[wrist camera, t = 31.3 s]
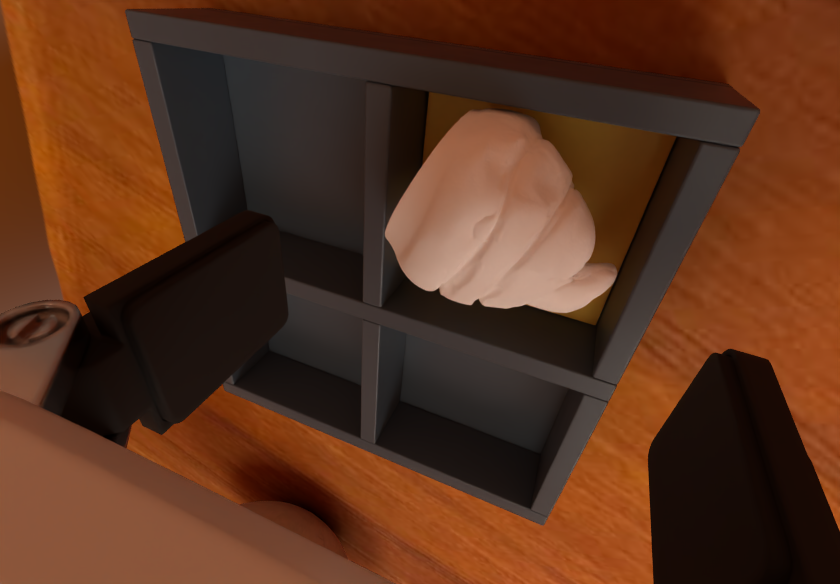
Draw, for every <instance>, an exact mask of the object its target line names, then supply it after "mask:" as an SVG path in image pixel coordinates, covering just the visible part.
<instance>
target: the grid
mask: <svg viewBox="0 0 840 584" xmlns="http://www.w3.org/2000/svg"><path fill="white" fill-rule="evenodd" d="M125 13H126V16H127V20H128V24H129V28H130V32H131V36H132V38H134V39H133V44H134V48H135V52H136V56H137V59H138V63H139V67H140V71H141V75H142V78H143V82H144V86H145V90H146V94H147V97H148V101H149V105H150V109H151V113H152V116H153V120H154V124H155V128H156V132H157V136H158V139H159V143H160V147H161V151H162V155H163V158H164V162H165V166H166V170H167V174H168V177H169V181H170V185H171V189H172V193H173V196H174V200H175V204H176V208H177V212H178V215H179V219H180V223H181V227H182V231H183V235H184V238H185V242H187V241H189V240H190V239H192V238H194V237H196V236H198V235H200V234H202V233H203V232H205V231H207V230H209V229H211V228H213V227H215V226H216V225H218V224H220V223H222V222H224V221H226V220H227V219H229V218H231V217H233V216H235V215H237V214H239V213H240V212H242V211H245V210H251V211H254V212H257V213H261V214H264V215H268V216H270V217H271V218H272V219H273V220H274V223H275V224H276V225H277V226H278V228H279V234H280V242H281V251H282V260H283V268H284V277H285V286H286V294H287V303H288V312H289V315H288V319H287V322H286V324H285V325H284V326H283V328H281V329H280V330H279V331H278V332H277V333H276V334H275V335H274V336H273V337H272V338H271V339H270V340H269V341H268V342H267V343H265V344H264V345H263V346H262V347H261V348H260V349H259V350H258V351H257V352H256V353H255V354H254V355H253V356H252V357H251V358H249V359H248V360H247V361H246V362H245V363H244V364H243V365H242V366H241V367H240V368H239V369H238V370H237V371H236V372H235V373H234V374H232V375H231V376H230V377H229V378H228V379H227V380H226V381H225V382H224V383H223V386H224V390H225V391H227V392H230V393H232V394H234V395H237V396H239V397H241V398H244V399H246V400H248V401H251V402H253V403H256V404H258V405H260V406H263V407H265V408H267V409H270V410H272V411H274V412H277V413H279V414H281V415H284V416H286V417H288V418H291V419H293V420H296V421H298V422H300V423H303V424H305V425H307V426H310V427H312V428H314V429H317V430H319V431H321V432H324V433H326V434H328V435H331V436H333V437H336V438H338V439H340V440H343V441H345V442H347V443H350V444H352V445H354V446H357V447H359V448H361V449H364V450H366V451H368V452H371V453H373V454H376V455H378V456H380V457H383V458H385V459H387V460H390V461H392V462H394V463H397V464H399V465H401V466H404V467H406V468H409V469H411V470H413V471H416V472H418V473H420V474H423V475H425V476H427V477H430V478H432V479H434V480H437V481H439V482H441V483H444V484H446V485H449V486H451V487H453V488H456V489H458V490H460V491H463V492H465V493H467V494H470V495H472V496H474V497H477V498H479V499H481V500H484V501H486V502H489V503H491V504H493V505H496V506H498V507H500V508H503V509H505V510H507V511H510V512H512V513H514V514H517V515H519V516H521V517H524V518H526V519H529V520H531V521H533V522H536V523H538V524H540V525H544V524H545V522H546V520H547V518H548V516H549V515H550V513H551V511H552V509H553V507H554V505H555V503H556V501H557V499H558V498H559V496H560V494H561V492H562V490H563V488H564V486H565V484H566V482H567V480H568V478H569V477H570V475H571V473H572V471H573V469H574V467H575V465H576V463H577V461H578V459H579V457H580V456H581V454H582V452H583V450H584V448H585V446H586V444H587V442H588V440H589V438H590V436H591V435H592V433H593V431H594V429H595V427H596V425H597V423H598V421H599V419H600V417H601V415H602V414H603V412H604V410H605V408H606V406H607V404H608V401H609V400H610V398H611V396H612V394H613V392H614V391H615V389H616V387H617V384H618V383H619V381H620V379H621V377H622V375H623V373H624V371H625V369H626V367H627V366H628V364H629V362H630V360H631V358H632V356H633V354H634V352H635V350H636V348H637V346H638V345H639V343H640V341H641V339H642V337H643V335H644V333H645V331H646V329H647V327H648V325H649V324H650V322H651V320H652V318H653V316H654V314H655V312H656V310H657V308H658V306H659V304H660V303H661V301H662V299H663V297H664V295H665V293H666V291H667V289H668V287H669V285H670V283H671V282H672V280H673V278H674V276H675V274H676V272H677V270H678V268H679V266H680V264H681V262H682V261H683V259H684V257H685V255H686V253H687V251H688V249H689V247H690V245H691V243H692V241H693V240H694V238H695V236H696V234H697V232H698V230H699V228H700V226H701V224H702V222H703V220H704V219H705V217H706V215H707V213H708V211H709V209H710V207H711V205H712V203H713V201H714V199H715V198H716V196H717V194H718V192H719V190H720V188H721V186H722V184H723V182H724V180H725V178H726V177H727V175H728V173H729V171H730V169H731V167H732V165H733V163H734V161H735V159H736V157H737V156H738V154H739V152H740V149H739V147H741V146H742V145H743V144H744V142H745V140H746V139H747V137H748V135H749V133H750V131H751V129H752V127H753V125H754V123H755V121H756V119H757V118H758V116H759V114H760V109H759V108H757V107H756V106H755V105H754V104H752V103H751V102H750V101H749V100H747V99H746V98H745V97H744V96H742V95H741V94H740V93H738V92H737V91H736V90H735V89H733V87H731V86H730V85H729V84H724V83H717V82H711V81H704V80H697V79H690V78H683V77H677V76H670V75H663V74H656V73H649V72H642V71H636V70H629V69H622V68H615V67H608V66H602V65H595V64H588V63H581V62H574V61H568V60H561V59H554V58H547V57H540V56H533V55H527V54H520V53H513V52H506V51H499V50H493V49H486V48H479V47H472V46H465V45H458V44H452V43H445V42H438V41H431V40H424V39H418V38H411V37H404V36H397V35H390V34H384V33H377V32H370V31H363V30H356V29H349V28H343V27H336V26H329V25H322V24H315V23H309V22H302V21H295V20H288V19H281V18H275V17H268V16H261V15H254V14H247V13H240V12H234V11H227V10H220V9H213V8H201V9H200V8H185V9H127V10H125ZM488 108H497V109H507V110H512V111H515V112H519V113H523V114H526V115H529V116H531V117H533V118H534V119H535V120H536V121H537V122H538V124H539V126H540V131H541V135H542V138H543V139H544V140H547V141H549V142H551V143H552V144H553V145H554V147H555V148H556V150H557V151H558V152H559V154H560V155H561V157H562V159H563V160H564V162H565V163H566V164H567V166H568V168H569V169H570V170H571V172H572V175H573V177H572V182H573V184H574V190H578V191H579V192H580V194H581V195H582V198H583V200H584V201H585V202H586V204H587V206H588V208H589V211H590V213H591V215H592V218H593V221H594V226H595V246H594V250H593V253H592V255H591V257H590V259H589V260H588V261H587V262H586V263H611V264H613V265H615V267H616V270H617V277H616V279H615V281H614V283H613V284H612V285H611V287H609V288H608V289H607V290H606V291H605V292H604V293H603V294H601V295H600V296H598V297H596V298H594V299H593V300H592V301H591V302H590V303H588V304H587V305H586V306H584V307H582V308H580V309H578V310H575V311H572V312H568V313H557V312H551V311H547V310H543V309H539V308H536V307H533V306H530V305H528V304H525V305H522V306H519V307H512V308H508V309H504V308H496V307H487V306H484V305H482V304H481V302H480V301H479V299H477V300H475V301H474V302H473V304H472V305H466V304H462V303H458V302H455V301H452V300H450V299H448V298H446V297H445V296H443V295H441V294H440V289H439V288H438V289H436V290H435V291H426V290H424V289H422V288H420V287H418V286H417V285H415V284H414V283H413V282H412V281H411V280H410V279H409V278H408V277H407V276H406V275H405V273H404V272H403V271H402V269H401V267H400V265H399V263H398V260H397V258H396V254H395V252H394V250H393V248H392V246H391V244H390V243H389V241H388V240H387V239H386V237H385V230H386V227H387V225H388V222H389V220H390V218H391V216H392V214H393V212H394V210H395V208H396V207H397V205H398V203H399V201H400V199H401V198H402V196H403V195H404V193H405V191H406V190H407V188H408V187H409V185H410V183H411V182H412V180H413V179H414V177H415V176H416V174H417V173H418V171H419V170H420V168H421V167H422V165H423V164H424V163H425V161H426V160H427V159H428V157H429V156H430V154H431V153H432V151H433V150H434V149H435V147H436V146H437V145H438V143H439V142H440V141H441V140H442V138H443V137H444V136H445V135H446V134H447V132H448V131H449V130H450V129H451V128H452V127H453V126H454V125H455V124H456V123H457V122H458V121H459V120H460V118H461V117H463V116H464V115H465V114H466V113H468V112H469V111H470V110H472V109H475V110H483V109H488Z"/></svg>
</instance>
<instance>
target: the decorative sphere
mask: <svg viewBox="0 0 840 584" xmlns="http://www.w3.org/2000/svg"><path fill="white" fill-rule="evenodd" d="M240 505H241V506H243V507H245V508H247V509H249V510H251V511H253V512H255V513H256V514H258V515H260V516H262V517H264V518H266V519H268V520H270V521H272V522H274V523H276V524H278V525H280V526H282V527H284V528H286V529H288V530H290V531H292V532H294V533H296V534H298V535H300V536H302V537H304V538H306V539H308V540H310V541H312V542H314V543H316V544H318V545H320V546H322V547H324V548H326V549H328V550H330V551H332V552H334V553H336V554H338V555H340V556H342V557H344V558H346V559H348V558H347V555H346V553H345V551H344V549H343V547H342V545H341V543H340V541H339V540H338V538H337V536H336V535H335V534H334V533H333V531H332V530H331V529H330V528H329V527H328V526H327V525H326V524H325V523H324V522H323V521H322V520H321V519H319V518H318V517H317V516H315V515H314V514H313V513H311V512H309V511H307V510H305V509H303V508H301V507H299V506H296V505H293V504H291V503H286V502H280V501H255V502H249V503H243V504H240Z"/></svg>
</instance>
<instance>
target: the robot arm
mask: <svg viewBox="0 0 840 584" xmlns="http://www.w3.org/2000/svg"><path fill="white" fill-rule="evenodd" d="M84 299H85V302H86V304H87V306H88V308H89V310H90V312H89V313H87V314H86V315H84V316H82V315H81V313H80V311H79V309H78V307H77V306H76V305H74V304H73V303H71V302H68V301H62V300H43V301H38V302H32V303H28V304H24V305H21V306H18V307H15V308H13V309H10V310H8V311H6V312H4V313H1V314H0V584H395V583H393V582H391V581H389V580H387V579H385V578H383V577H381V576H379V575H378V574H376V573H374V572H372V571H370V570H368V569H366V568H364V567H362V566H360V565H358V564H356V563H354V562H352V561H350V560H348V559H346V558H344V557H342V556H340V555H338V554H336V553H334V552H332V551H330V550H328V549H326V548H324V547H322V546H320V545H318V544H316V543H314V542H312V541H310V540H308V539H306V538H304V537H302V536H300V535H298V534H296V533H294V532H292V531H290V530H288V529H286V528H284V527H282V526H280V525H278V524H276V523H274V522H272V521H270V520H268V519H266V518H264V517H262V516H260V515H258V514H256V513H255V512H253V511H251V510H249V509H247V508H245V507H243V506H241V505H239V504H237V503H235V502H233V501H231V500H229V499H227V498H225V497H223V496H221V495H219V494H217V493H215V492H213V491H211V490H209V489H207V488H205V487H203V486H201V485H199V484H197V483H195V482H193V481H191V480H189V479H187V478H185V477H183V476H181V475H179V474H177V473H175V472H173V471H171V470H169V469H166V468H164V467H162V466H160V465H158V464H156V463H154V462H152V461H150V460H148V459H146V458H144V457H142V456H140V455H138V454H136V453H134V452H132V451H130V450H128V449H126V448H127V444H128V440H129V435H130V431H131V425H132V424H133V423H134V422H135V421H137V420H138V419H140V421H141V423H142V425H143V426H144V427H146V428H149V429H151V430H153V431H155V432H157V433H159V434H161V435H162V434H163V433H165V432H166V431H167V430H168V429H169V428H170V427H171V426H172V425H173V424H176V423H180V422H182V421H183V420H184V419H186V418H187V417H188V416H189V415H190V414H191V413H192V412H193V411H194V410H195V409H196V408H197V407H198V406H199V405H201V404H202V403H203V402H204V401H205V400H206V399H207V398H208V397H209V396H210V395H211V394H212V393H213V392H214V391H215V390H216V389H218V388H219V387H220V386H221V385H222V384H223V383H224V382H225V381H226V380H227V379H228V378H229V377H230V376H231V375H232V374H234V373H235V372H236V371H237V370H238V369H239V368H240V367H241V366H242V365H243V364H244V363H245V362H246V361H247V360H248V359H249V358H251V357H252V356H253V355H254V354H255V353H256V352H257V351H258V350H259V349H260V348H261V347H262V346H263V345H264V344H265V343H267V342H268V341H269V340H270V339H271V338H272V337H273V336H274V335H275V334H276V333H277V332H278V331H279V330H280V329H281V328H283V326H284V325H285V324H286V322H287V319H288V315H289V312H288V303H287V294H286V286H285V277H284V268H283V260H282V251H281V242H280V234H279V228H278V226H277V225H276V224H275V223H274V220H273V219H272V218H271V217H270V216H268V215H264V214H261V213H257V212H254V211H251V210H245V211H242V212H240V213H239V214H237V215H235V216H233V217H231V218H229V219H227V220H226V221H224V222H222V223H220V224H218V225H216V226H215V227H213V228H211V229H209V230H207V231H205V232H203V233H202V234H200V235H198V236H196V237H194V238H192V239H190V240H189V241H187V242H185V243H183V244H181V245H179V246H177V247H176V248H174V249H172V250H170V251H168V252H166V253H164V254H163V255H161V256H159V257H157V258H155V259H153V260H151V261H150V262H148V263H146V264H144V265H142V266H140V267H139V268H137V269H135V270H133V271H131V272H129V273H127V274H126V275H124V276H122V277H120V278H118V279H116V280H114V281H113V282H111V283H109V284H107V285H105V286H103V287H101V288H100V289H98V290H96V291H94V292H92V293H90V294H88V295H87V296H85V297H84ZM648 470H649V492H650V514H651V536H652V558H653V579H654V584H840V531H839V529H838V526H837V524H836V521H835V519H834V516H833V514H832V511H831V509H830V506H829V504H828V501H827V499H826V496H825V494H824V492H823V489H822V487H821V484H820V482H819V479H818V477H817V474H816V472H815V469H814V467H813V464H812V462H811V460H810V458H809V457H808V455H807V453H806V450H805V448H804V445H803V443H802V440H801V438H800V435H799V433H798V430H797V428H796V425H795V423H794V420H793V418H792V415H791V413H790V410H789V408H788V405H787V403H786V400H785V398H784V395H783V393H782V390H781V388H780V385H779V383H778V380H777V378H776V375H775V373H774V370H773V368H772V365H771V363H770V362H769V360H767V359H765V358H761V357H758V356H754V355H751V354H747V353H744V352H740V351H737V350H733V349H728V350H726V351H725V352H723V354H718V353H713V354H711V355H710V356H709V358H708V359H707V361H706V362H705V364H704V365H703V367H702V368H701V370H700V371H699V372H698V374H697V375H696V377H695V378H694V380H693V381H692V383H691V384H690V386H689V387H688V389H687V390H686V392H685V393H684V395H683V396H682V398H681V399H680V401H679V402H678V404H677V405H676V407H675V408H674V410H673V411H672V413H671V414H670V416H669V417H668V419H667V420H666V422H665V423H664V425H663V426H662V428H661V429H660V431H659V432H658V434H657V435H656V437H655V438H654V440H653V442H652V443H651V446H650V449H649V454H648Z"/></svg>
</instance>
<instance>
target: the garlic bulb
mask: <svg viewBox="0 0 840 584" xmlns="http://www.w3.org/2000/svg"><path fill="white" fill-rule="evenodd" d="M572 177H573V175H572V172H571V170H570V169H569V168H568V166H567V164H566V163H565V162H564V160H563V159H562V157H561V155H560V154H559V152H558V151H557V150H556V148H555V147H554V145H553V144H552V143H551V142H549V141H547V140H544V139H543V138H542V135H541V131H540V126H539V124H538V122H537V121H536V120H535V119H534V118H533V117H531V116H529V115H526V114H523V113H519V112H515V111H512V110H507V109H497V108H488V109H483V110H475V109H472V110H470V111H469V112H468V113H466V114H465V115H464V116H463V117H461V118H460V120H459V121H458V122H457V123H456V124H455V125H454V126H453V127H452V128H451V129H450V130H449V131H448V132H447V134H446V135H445V136H444V137H443V138H442V140H441V141H440V142H439V143H438V145H437V146H436V147H435V149H434V150H433V151H432V153H431V154H430V156H429V157H428V159H427V160H426V161H425V163H424V164H423V165H422V167H421V168H420V170H419V171H418V173H417V174H416V176H415V177H414V179H413V180H412V182H411V183H410V185H409V187H408V188H407V190H406V191H405V193H404V195H403V196H402V198H401V199H400V201H399V203H398V205H397V207H396V208H395V210H394V212H393V214H392V216H391V218H390V220H389V222H388V225H387V227H386V230H385V237H386V239H387V240H388V241H389V243H390V244H391V246H392V248H393V250H394V252H395V254H396V258H397V260H398V263H399V265H400V267H401V269H402V271H403V272H404V273H405V275H406V276H407V277H408V278H409V279H410V280H411V281H412V282H413V283H414V284H415V285H417V286H418V287H420V288H422V289H424V290H426V291H435V290H436V289H438V288H439V289H440V294H441V295H443V296H445V297H446V298H448V299H450V300H452V301H455V302H458V303H462V304H466V305H472V304H473V302H474V301H475V300H477V299H479V301H480V302H481V304H482V305H484V306H487V307H496V308H504V309H508V308H512V307H519V306H522V305H525V304H528V305H530V306H533V307H536V308H539V309H543V310H547V311H551V312H557V313H568V312H572V311H575V310H578V309H580V308H582V307H584V306H586V305H587V304H588V303H590V302H591V301H592V300H593V299H594V298H596V297H598V296H600V295H601V294H603V293H604V292H605V291H606V290H607V289H608V288H609V287H611V285H612V284H613V283H614V281H615V279H616V277H617V270H616V267H615V265H613V264H611V263H586V262H587V261H588V260H589V259H590V257H591V255H592V253H593V250H594V246H595V226H594V221H593V218H592V215H591V213H590V211H589V208H588V206H587V204H586V202H585V201H584V200H583V198H582V195H581V194H580V192H579V191H578V190H574V184H573V182H572Z"/></svg>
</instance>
